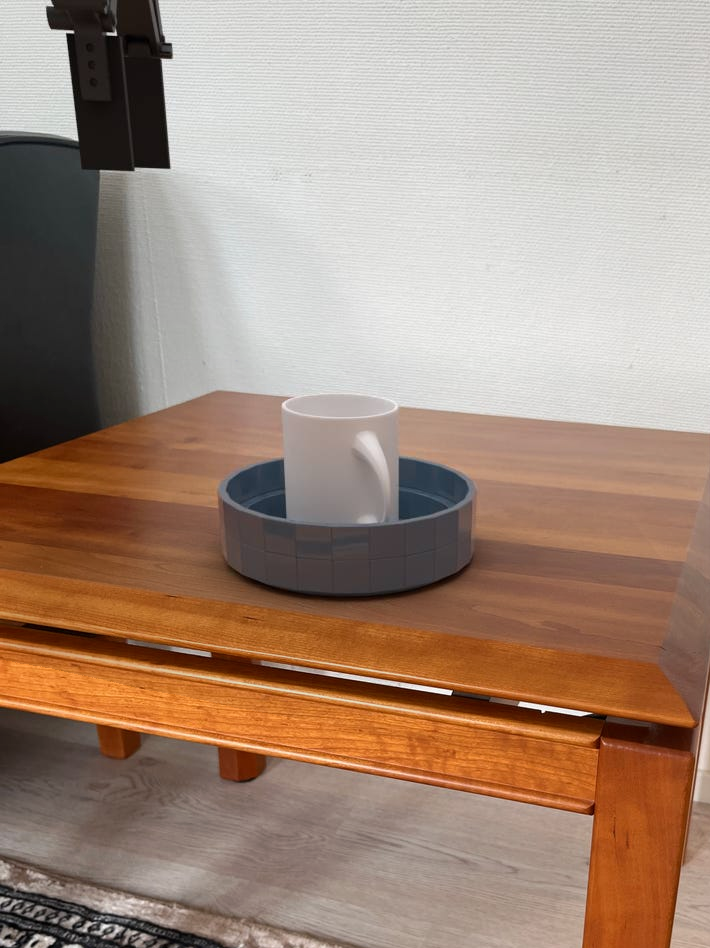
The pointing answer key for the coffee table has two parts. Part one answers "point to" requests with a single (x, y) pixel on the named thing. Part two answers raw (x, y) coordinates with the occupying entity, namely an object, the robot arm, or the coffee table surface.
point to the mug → (341, 458)
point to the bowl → (349, 534)
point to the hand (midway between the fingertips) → (131, 170)
